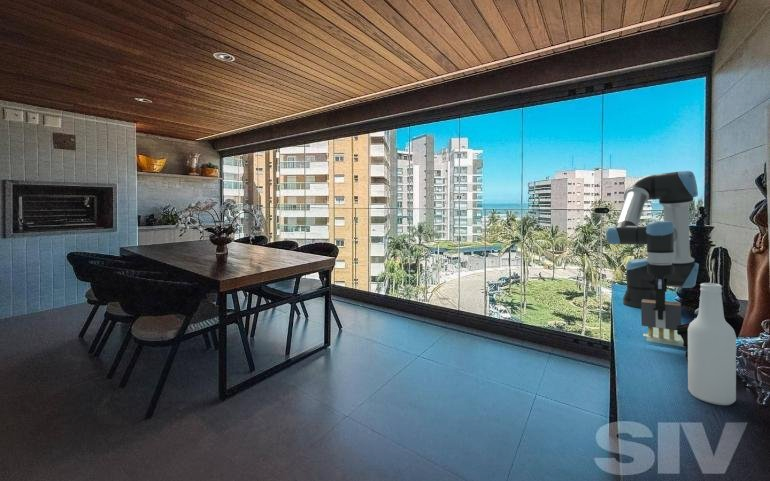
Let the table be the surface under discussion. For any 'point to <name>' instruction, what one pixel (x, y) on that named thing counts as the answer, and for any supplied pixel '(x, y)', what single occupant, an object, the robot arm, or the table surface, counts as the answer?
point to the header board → (664, 336)
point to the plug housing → (670, 314)
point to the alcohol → (712, 350)
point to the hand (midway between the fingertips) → (660, 325)
